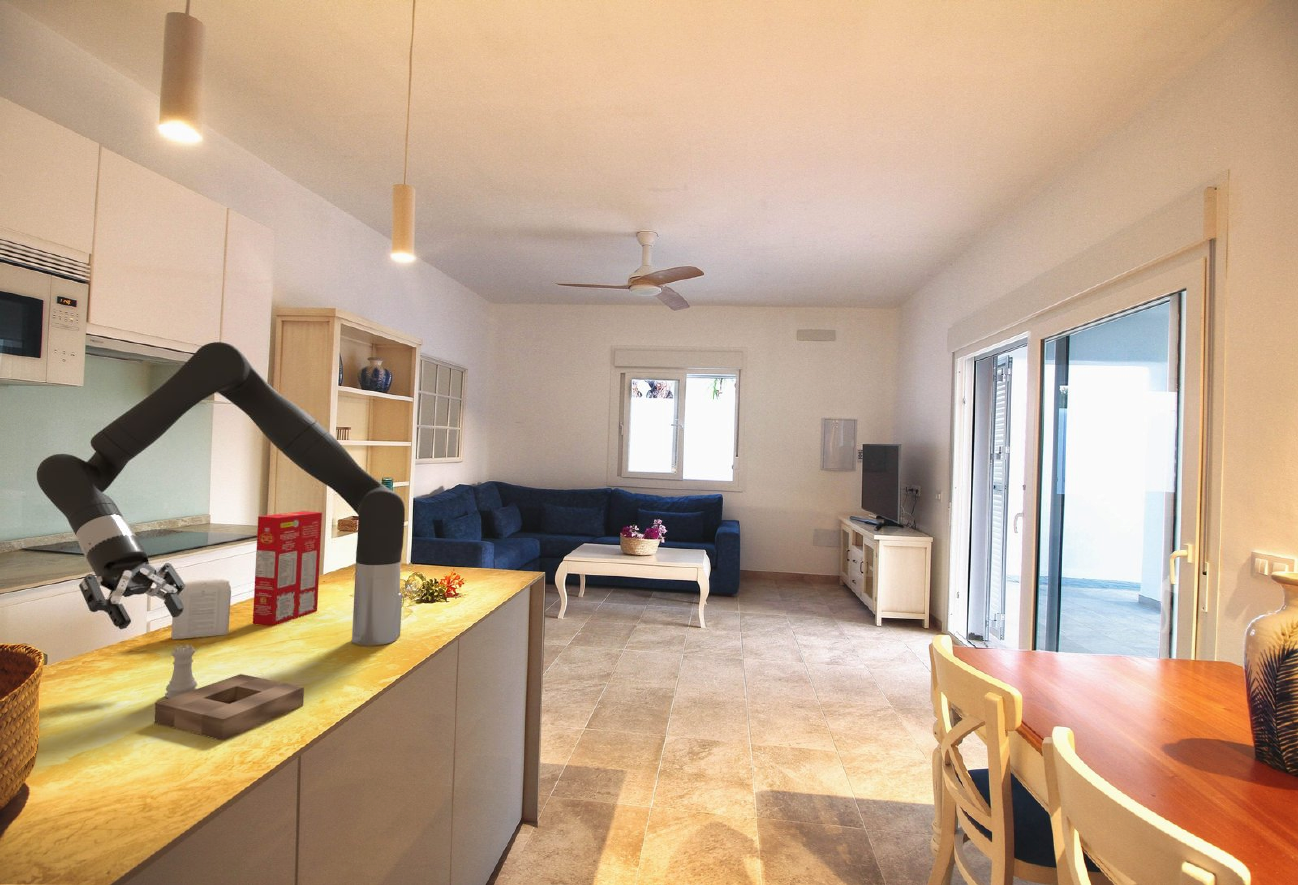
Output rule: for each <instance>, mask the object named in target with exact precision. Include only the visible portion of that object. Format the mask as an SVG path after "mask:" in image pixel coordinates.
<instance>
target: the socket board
mask: <svg viewBox="0 0 1298 885" xmlns="http://www.w3.org/2000/svg"><path fill="white" fill-rule="evenodd" d="M304 699H305V686H301V685H297V684H296V685H295V684H291V683H287V682H282V681H276V680H271V679H268V678H263V677H262V678H261V677H257V676H256V677H255V676H252V675H247V674H243V673H239V674H236V675H234V676H231V677H228V678H225V679H222V680H219V681H217V682H213V683H211V684H207V685H204V686H202V687H201V686H200V687H198V688H197V689H195V690H192V691H189V692H186V693H183V694H180V695H178V696H175V697H172V698H169V699H168V698H166V699H163V700H161V701H157V702H155V704H154V717H153V718H154V724H157V725H161V726H165V727H169V728H172V727H173V728H172V729H176V728H177V729H176V730H180V731H185V732H188V731H189V733H191V732H193V734H197V735H201V736H203V735H205V736H204V737H207V736H209V737H208V738H211V737H212V738H213V739H215V738H216V740H219V741H225V740H227V739H229V738H231V737H234V736H235V735H239V734H240V733H243V732H245V731H247V730H250V729H252V728H254V727H257V726H259V725H261V724H264V723H266V722H268V721H270V720H273V719H276V718H277V717H280V716H282V715H285V714H287V713H289V712H292V711H294V710H296V709H298V708H300V707H301V708H302V707H303V706H304V701H305V700H304ZM233 735H234V736H233Z"/></svg>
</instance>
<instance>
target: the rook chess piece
mask: <svg viewBox="0 0 1298 885" xmlns="http://www.w3.org/2000/svg"><path fill="white" fill-rule="evenodd" d="M195 653H196V650H195V649H194V647H193V645H192V644H190V645H189V644H184V647H183V645H178V646H175V647H174V650H173V651H172V653H171V656H172V657H173V659H174V661H173V662H172V665H173V670H172V676H171V679H170V680H169V683H168V684H167V685H166V687H165V691H166V692H165V693H164V696H165V697H166V699H169V698H172V697H175V696H178V695H180V694H183V693H186V692H189V691H192V690H195V689H198V688H197V687H198V682H197V681H196V680H195V677H194V676H193V670H192V665H193V662H194V659H193V655H194V654H195Z"/></svg>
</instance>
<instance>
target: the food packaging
mask: <svg viewBox="0 0 1298 885" xmlns="http://www.w3.org/2000/svg"><path fill="white" fill-rule="evenodd" d="M322 521H323V512H322V511H308V510H307V511H305V510H302V511H294V512H293V511H292V512H285V513H275V514H268V515H267V514H266V515H259V516H257V530H256V531H257V534H256V554H255V569H254V571H255V572H254V589H253V590H254V591H253V592H254V594H253V607H252V608H253V610H252V611H253V614H252V625H256V624H258V625H257V626H266V627H274V626H278V625H281V624H283V623H287V622H290V621H292V620H291V619H293V620H296V619H298V617H299V618H301V616H302V617H305V616H308V615H310V614H313V613H317V612H318V605H319V604H318V603H319V602H318V600H319V582H320V580H319V579H320V566H321V565H320V564H321V562H320V561H321V560H320V559H321V541H322V526H323V525H322ZM316 611H317V612H316ZM304 615H305V616H304ZM289 620H290V621H289ZM277 624H278V625H277Z"/></svg>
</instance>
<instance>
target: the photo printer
mask: <svg viewBox="0 0 1298 885" xmlns="http://www.w3.org/2000/svg"><path fill="white" fill-rule="evenodd" d="M183 582H184V584H185V588H184V589H183V590H182V591H181V592H180V594H179V595H178V597H179V599H180V600H181V602H182V604H183V605H184V609H183V612H182V613H181V614H180V615H179V616H178V617H174V618H173V617H172V621H171V636H170V637H171V639H172V640H182V639H191V638H194V637H195V638H204V637H213V636H215V637H217V636H226V635H227V634H229V631H230V630H229V627H230V616H231V602H232V600H231V599H232V587H231V585H230V580H225V579H223V578H213V577H204V578H203V577H201V578H195V579H189V580H185V581H183Z"/></svg>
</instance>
